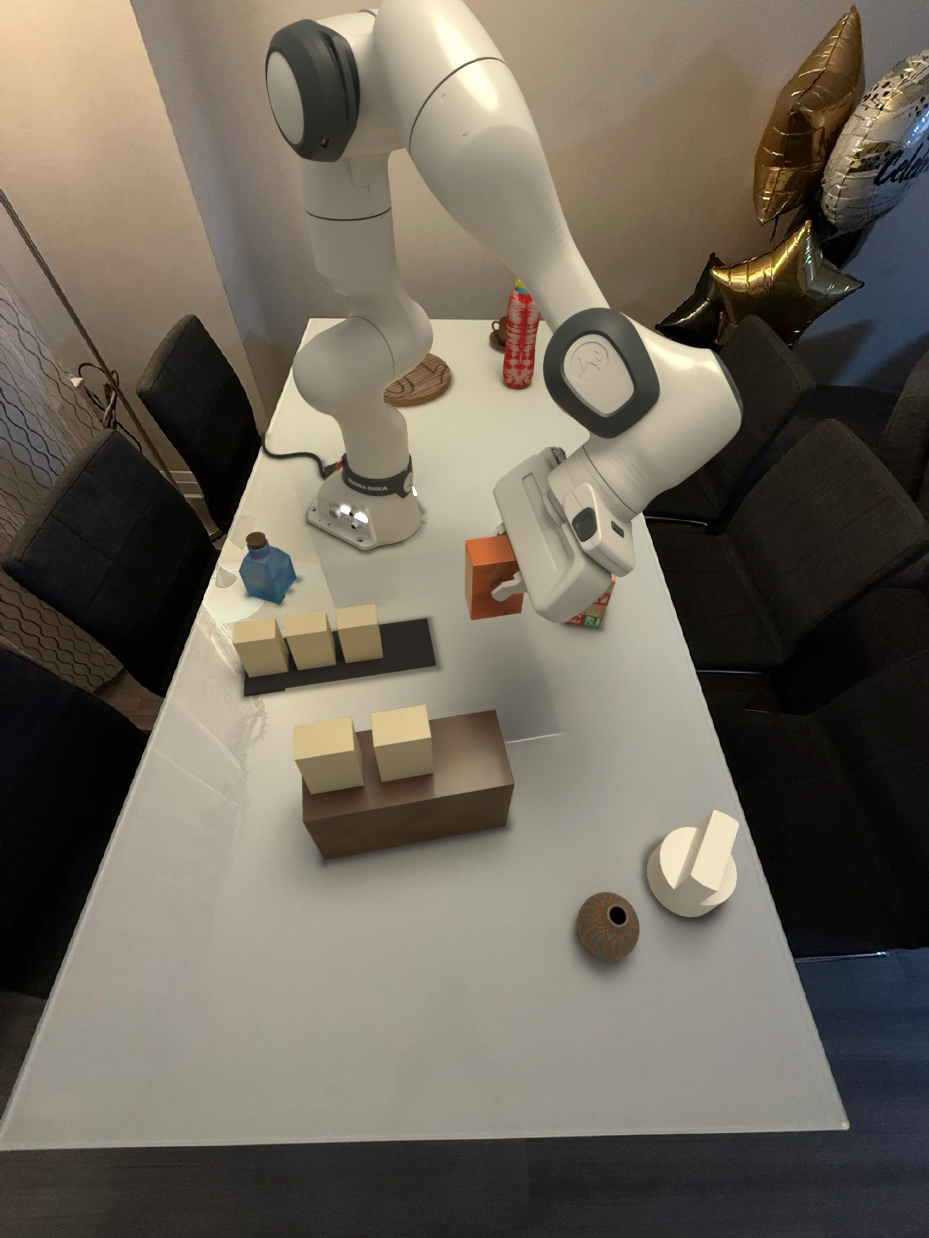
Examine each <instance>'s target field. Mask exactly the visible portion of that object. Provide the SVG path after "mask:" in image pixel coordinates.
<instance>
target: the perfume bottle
mask: <svg viewBox="0 0 929 1238" xmlns="http://www.w3.org/2000/svg"><path fill="white" fill-rule="evenodd" d="M245 542H246V548H247V550H248V552H247V553H246V555H245V556H244V557H243V559H242V560H241V561H242V562H241V563H240V566H239V569H238V574H239V575H240V578H241V580H242V583H243V585H244V588H245V590H246V592H247V595H248V596H249V597H253V598H256V599H261V600H263V601H267V602H269V603H273V604H277V605H281V604H282V602H283V601H284V599H285V598H286V594H287V592H288V591H289V590H290V589H291V587H292V586H293V584H294V582H295V581H296V580H297V579H298V577H297V574H296V570H295V567H294V564H293V562H292V557H291V555H290V554H288V553H287V552H285V551H284V550H283V549H280V548H279V547H276V546H272V545H270V542H269V540H268V538H267V536H266V534H265V533H264V532H262V531H252V532H250V533H248V535H247V536H246V537H245Z"/></svg>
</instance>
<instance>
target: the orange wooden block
mask: <svg viewBox="0 0 929 1238" xmlns="http://www.w3.org/2000/svg"><path fill="white" fill-rule="evenodd" d="M464 543H465V545H464V546H465V547H464V551H465V552H464V599H465V602H466V605H467V610H468V614H469V617H470V621H476V620H477V621H479V620H483V619H490V618H491V619H492V618H497V617H504V616H511V615H518V614H522V612H523V611H522V610H523V604H524V597H525V596H524V595H525V593H519V594H512V595H511V596H509V597H508V598H507V599H505V600H504V601H498V600H496V599H494V598H493V597H492V594H491V590H490V585H491V584H492V583H494V582H495V581H496V580H497V579H499V578H501V579H503V580H504V581H505V582H506V581H510V580H514V574H515V573H517V572H518V571H519V570H520V569H519V566H518V563H517V560H516V557H515V555H514V552H513V549H512V546H511V543H510V540H509V538H508V535H501V536H493V537H492V536H486V537H477V538H470V539H465V541H464Z"/></svg>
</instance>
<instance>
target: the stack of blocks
mask: <svg viewBox="0 0 929 1238" xmlns="http://www.w3.org/2000/svg"><path fill="white" fill-rule="evenodd" d="M616 582H617V576H616V575H614V574H612V580H611V584H610V586H609V587H608V589H607V590H606V591H605V593H604V594H603V595H602V596H600V597H599V598H598V599H597V600H596V601H595V602H593V603H592V604H591V605H590V606H588V607H587V608H586V609H584V610H583V611H582V612H580V613H579V614H578V615H576V616H575V617H573V618H572V619H570V620H569V621H567V622H564V623H565V624H570V625H576V626H584V627H590V628H595V629H600V628H601V625H602V623H603V620H604V615H605V613H606V610H607V606H608V605H609V602H610V600H611V596H612V593H613V590H614V587H615V585H616ZM564 623H563V624H564Z"/></svg>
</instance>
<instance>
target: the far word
mask: <svg viewBox="0 0 929 1238" xmlns="http://www.w3.org/2000/svg"><path fill="white" fill-rule="evenodd" d="M335 617H336V630H332V629H331V625H330V621H329V617H328V613H327V610H318V611H317V610H316V611H312V612H311V611H310V612H304V613H295V614H289V615H285V637H283V634H282V631H281V629H280V626H279V623H278V621H277V618H276V617H275V616H272V617H265V618H259V619H250V620H242V621H235V622H233V632H232V646H233V647H234V649H235V651H236V654H237V656H238V658H239V660H240V662H241V664H242V665H243V668H244V681H243V682H244V683H243V696H244V697H251V696H257V695H264V694H271V693H278V692H283V691H286V689H291V688H299V687H305V686H311V685H318V684H326V683H331V682H338V681H344V680H345V681H346V680H352V679H357V678H358V679H359V678H364V677H365V678H366V677H372V676H378V675H384V674H392V673H399V672H405V671H411V670H418V669H425V668H432V667H437V662H436V661H437V660H436V656H435V651H434V646H433V641H432V636H431V631H430V625H429V620H428V618H427V617H425V618H417V619H410V620H402V621H396V622H389V623H382V624H379V620H378V613H377V606H376V603H371V604H363V605H356V606H348V607H341V608H340V607H339V608H335Z"/></svg>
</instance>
